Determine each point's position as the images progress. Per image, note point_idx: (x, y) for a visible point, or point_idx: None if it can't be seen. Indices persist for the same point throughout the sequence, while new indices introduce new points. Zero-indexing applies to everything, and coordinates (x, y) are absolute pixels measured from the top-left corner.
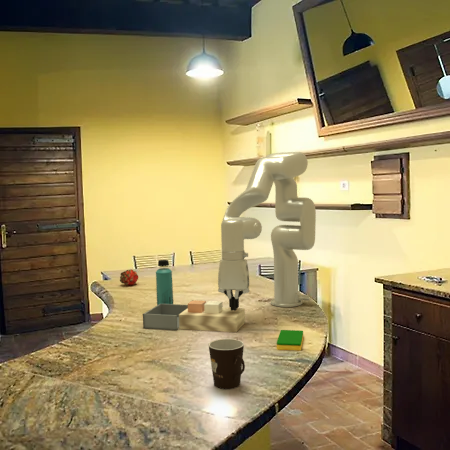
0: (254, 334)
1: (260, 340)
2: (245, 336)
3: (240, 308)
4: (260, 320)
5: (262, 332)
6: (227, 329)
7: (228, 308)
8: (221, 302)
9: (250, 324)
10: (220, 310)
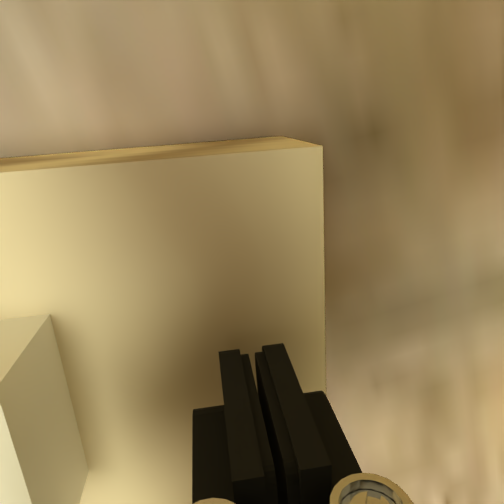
0: (425, 414)
1: (476, 497)
2: (375, 467)
3: (264, 163)
4: (416, 9)
5: (473, 359)
6: None
7: (89, 211)
8: (13, 441)
9: (347, 184)
10: (66, 417)
